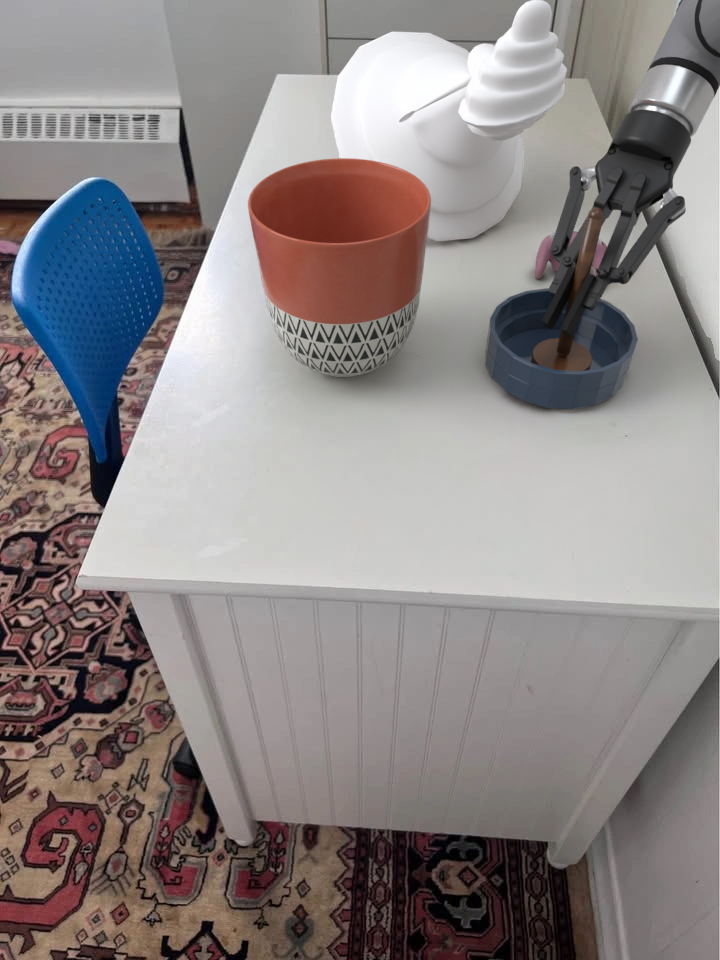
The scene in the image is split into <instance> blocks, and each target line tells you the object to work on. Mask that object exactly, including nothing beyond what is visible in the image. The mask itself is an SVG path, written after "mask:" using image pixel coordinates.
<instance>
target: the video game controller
mask: <svg viewBox="0 0 720 960" xmlns="http://www.w3.org/2000/svg"><path fill="white" fill-rule="evenodd" d="M577 233H578V231H575V230H574V231H573V234H572V237H571V240H570V243H569V246H570V245H571V243H572V241H573V240H574V238H575V236H576V235H577ZM554 235H555V232H553V233H551V234H549V235H547V236H545V237H544V238H543V240H542V241H541V243H540V244H539V247H538V250H537V253H536V260H535V268H534V277H535V279H537V280H540V279H541V278H542V277H543V275H544V273H545V271H546V269H547V265H548V263H549V262H550V266H551V268H552V269H553V271H555V272H557V271H558V269H559V267H560V263H559V262H558V261H556V260H555V259H554V257H553V255H552V254H551V252H550V248H551V245H552V242H553V238H554ZM569 246H568V248H569ZM607 246H608V245H607V244H606V243H605V242H604V241H603V240H602V239H600V238H599V239H598V243H597V247H596V251H595V255H594V259H593V263H592V268H593V271H594V272H593V275H594V276H595V277H596V275H597V273H596V268H597V269H598V268H599V265H600V263H601V260H602V258H603V256H604V253H605V251H606V248H607Z"/></svg>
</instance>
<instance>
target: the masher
mask: <svg viewBox="0 0 720 960" xmlns="http://www.w3.org/2000/svg"><path fill="white" fill-rule="evenodd" d="M592 208H593V207H592ZM592 208H591V209H590V210H589V211H588V213H587V216H588V217H587V216H586V218H587V221H586V226H585V230H584V234H583V238H582V243H581V247H580V251H579V256H578V260H577V264H576V269H575V273H574V277H573V282H572V286H571V290H570V295H569V299H568V303H567V308H566V312H565V316H564V320H565V318H566V316H567V314H568V312H569V310H570V308H571V307H572V305H573V303H574V301H575V299H576V297H577V295H578V293H579V291H580V289H581V287H582V285H583V283H584V281H585V279H586V277H587V275H588V273H589V274H591V271H592V268H593V266H592V263H593V259H594V255H595V251H596V247H597V243H598V239H600V238H599V237H600V234H601V230H602V227H603V225H602V223H603V219H604V212H603V210H602V209H601V208H598V207H596V208H593V209H592ZM603 224H604V223H603ZM563 322H564V321H563ZM576 327H577V326H576ZM575 331H576V328H575V330H574V332H573V334H572V336H571V337H569V336H566V335H565V334H564V333H563V332H562V331H561V333H560V338H555V339H548V340H545V341H542V342H540V343H539V344H537V345H536V346H535V348H534V350H533V354H532V359H531V363H533V364H536V365H539V366H543V367H547V368H551V369H555V370H566V371H585V370H590V366H591V363H592V356H591V354H590V352H589V351H588V350H587V349H586V348H585V347H584V346H583V345H581V344H579V343H577V342H575V341H573V339H574V335H575Z"/></svg>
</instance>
